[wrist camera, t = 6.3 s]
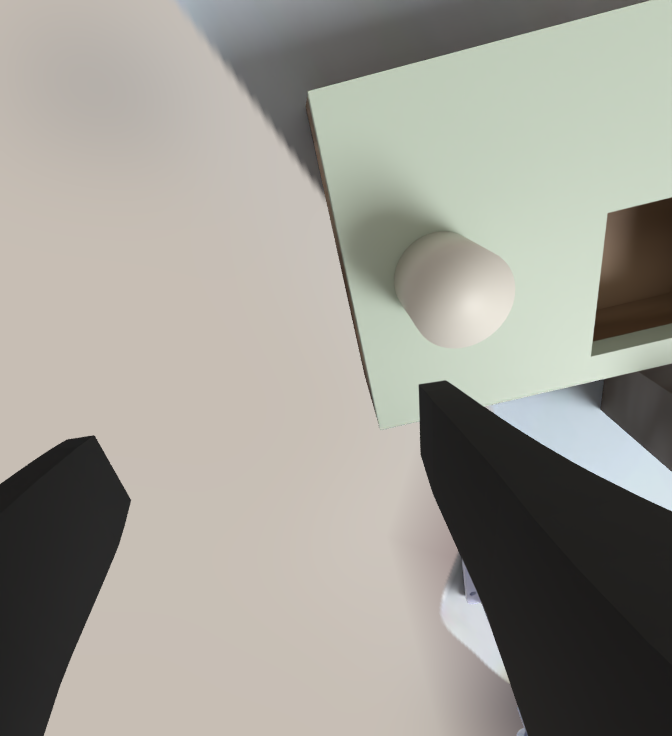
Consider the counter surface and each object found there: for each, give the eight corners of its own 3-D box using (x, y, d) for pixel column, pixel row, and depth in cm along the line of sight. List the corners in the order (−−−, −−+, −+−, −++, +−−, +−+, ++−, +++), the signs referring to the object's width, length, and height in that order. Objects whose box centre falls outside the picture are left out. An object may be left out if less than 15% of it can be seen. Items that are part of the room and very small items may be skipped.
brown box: (672, 302, 20) (739, 330, 17) (364, 375, 21) (375, 414, 18) (740, -9, 14) (863, -52, 11) (305, 106, 15) (307, 96, 12)
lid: (742, 331, 17) (840, 372, 14) (376, 416, 17) (392, 473, 14) (867, -54, 11) (1088, -132, 8) (307, 95, 12) (310, 76, 8)
